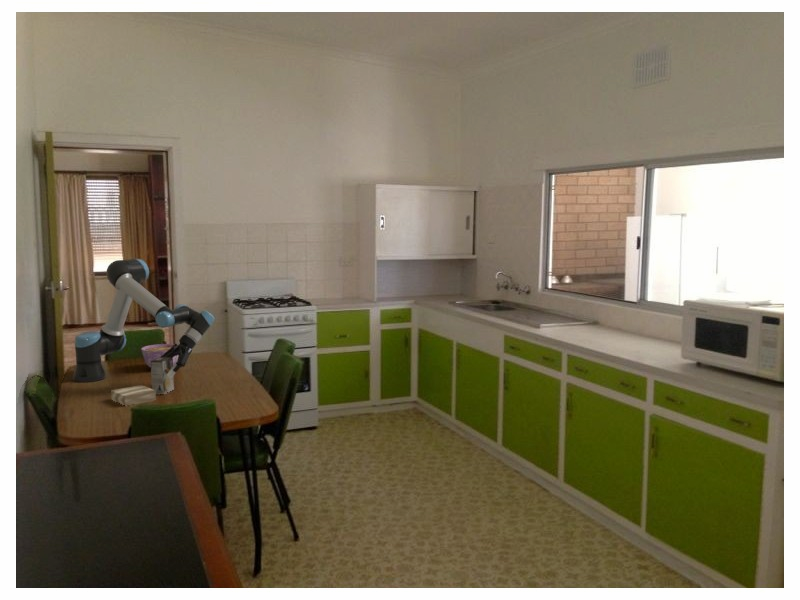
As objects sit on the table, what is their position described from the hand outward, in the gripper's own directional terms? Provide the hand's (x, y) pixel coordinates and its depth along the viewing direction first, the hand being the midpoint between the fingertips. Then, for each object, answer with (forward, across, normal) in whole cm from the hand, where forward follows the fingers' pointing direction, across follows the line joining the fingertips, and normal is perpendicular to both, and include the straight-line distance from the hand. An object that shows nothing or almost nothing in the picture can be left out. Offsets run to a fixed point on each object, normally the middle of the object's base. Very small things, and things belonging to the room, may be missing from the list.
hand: (161, 374), depth 315 cm
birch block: (+17, -4, +4) cm, 18 cm away
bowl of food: (-10, +47, -22) cm, 53 cm away
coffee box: (+6, 0, -7) cm, 9 cm away
